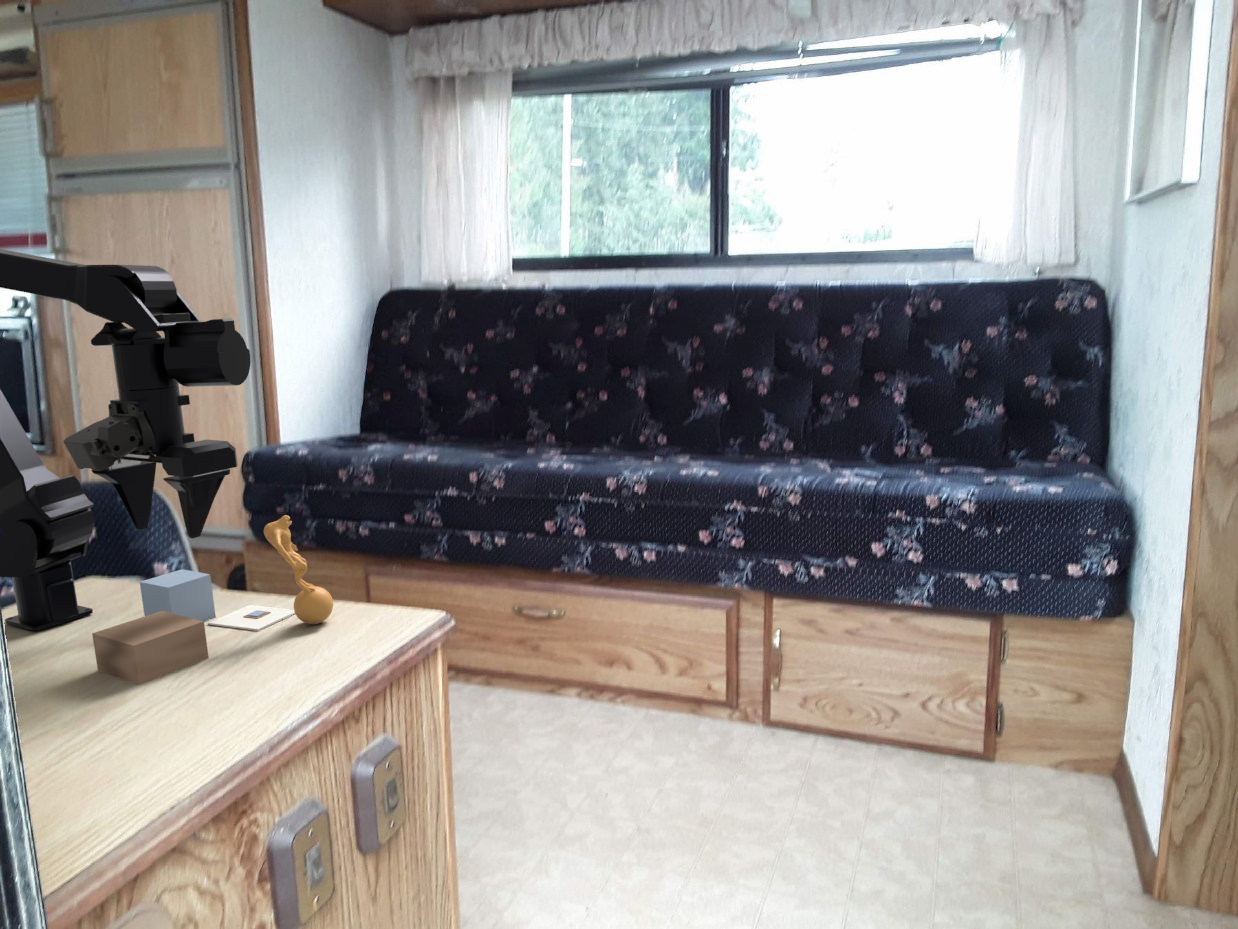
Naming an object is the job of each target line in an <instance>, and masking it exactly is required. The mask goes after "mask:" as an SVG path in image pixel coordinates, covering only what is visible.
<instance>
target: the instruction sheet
mask: <svg viewBox="0 0 1238 929" xmlns="http://www.w3.org/2000/svg"><path fill="white" fill-rule="evenodd" d="M293 614H294V615H296V614H295V612H294V609H288V608H279V607H272V606H271V607H270V606H263V605H252V604H249V605H247V606H244V607H242V608H239V609H236V610H235V611H232V612H230V613H228V614H226V615H223V616H220V617H219V618H218V617H217V618H216V619H214V620H211V621H209V622H207V624H208V625H210V626H217V627H224V628H232V629H233V628H234V629H241V630H249V631H255V632H259V631H262V630H264V629H266V628H268V627H271V626H272V625H274V624H277V623H279V622H281V621H283V620H285V619H287V618H289V617H292V616H294V615H293ZM291 615H292V616H291ZM282 619H283V620H282Z"/></svg>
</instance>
